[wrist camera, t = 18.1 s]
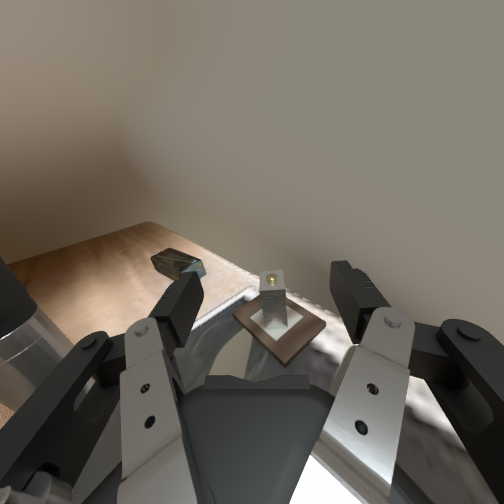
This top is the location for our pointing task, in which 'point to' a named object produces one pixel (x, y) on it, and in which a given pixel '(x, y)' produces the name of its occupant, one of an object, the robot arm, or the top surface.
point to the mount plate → (281, 340)
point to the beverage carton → (176, 263)
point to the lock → (273, 299)
